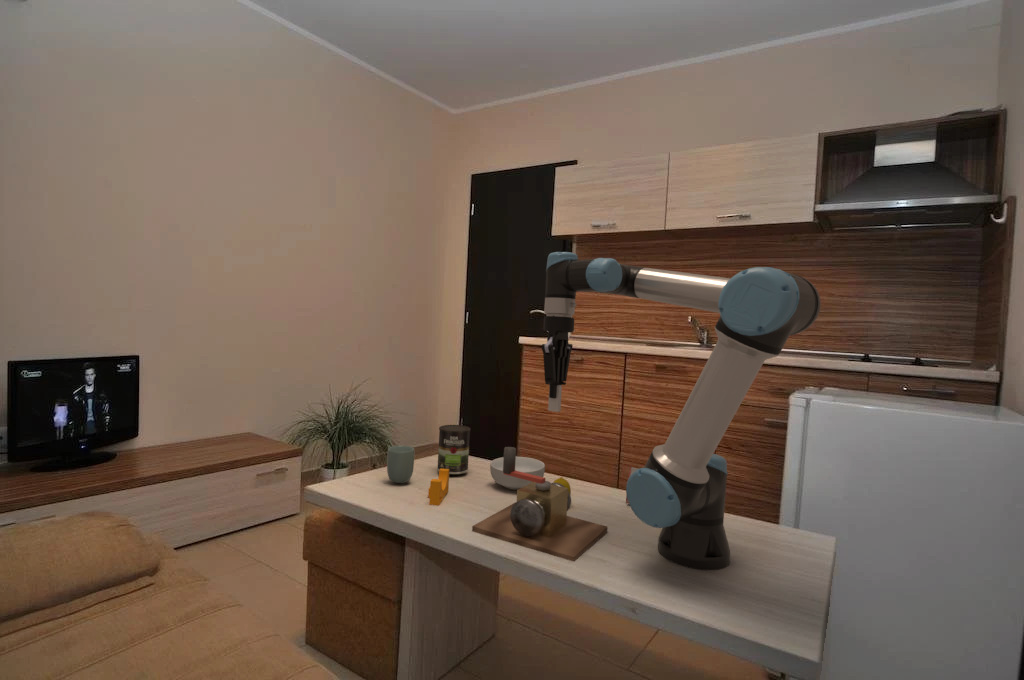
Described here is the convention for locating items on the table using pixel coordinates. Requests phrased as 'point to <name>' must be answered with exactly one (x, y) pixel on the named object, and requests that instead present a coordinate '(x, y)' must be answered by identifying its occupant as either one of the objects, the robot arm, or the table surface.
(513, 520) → the valve
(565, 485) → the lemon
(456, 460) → the coffee can
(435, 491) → the orange arch block
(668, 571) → the table surface
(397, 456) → the cup
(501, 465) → the cereal bowl
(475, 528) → the mount board
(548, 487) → the lever
